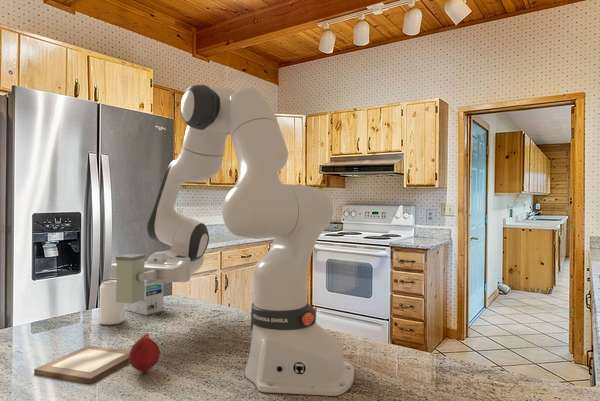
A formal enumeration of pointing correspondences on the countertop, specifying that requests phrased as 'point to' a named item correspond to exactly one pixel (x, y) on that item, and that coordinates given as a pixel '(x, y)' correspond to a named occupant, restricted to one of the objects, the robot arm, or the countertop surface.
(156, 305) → the light bulb box
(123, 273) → the tea tin
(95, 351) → the board
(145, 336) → the onion
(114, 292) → the can
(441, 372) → the countertop surface
